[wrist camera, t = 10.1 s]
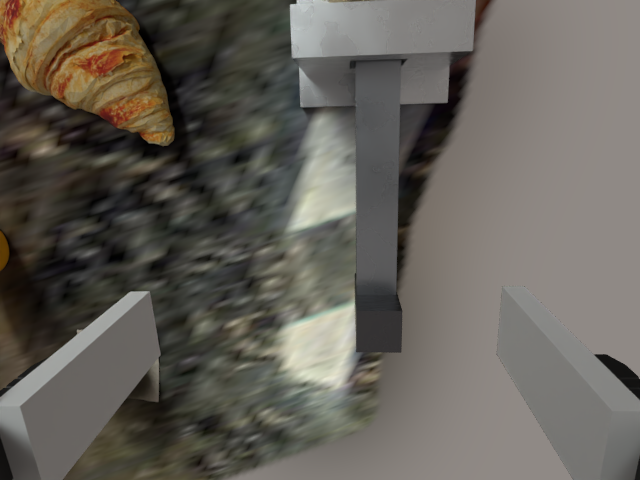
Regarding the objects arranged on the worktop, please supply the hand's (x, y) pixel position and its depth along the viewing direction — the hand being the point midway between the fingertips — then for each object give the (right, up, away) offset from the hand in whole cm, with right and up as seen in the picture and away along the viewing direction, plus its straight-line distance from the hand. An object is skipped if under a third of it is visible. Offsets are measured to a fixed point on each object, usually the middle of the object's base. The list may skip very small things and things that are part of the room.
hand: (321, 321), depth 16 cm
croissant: (-20, +19, +21) cm, 35 cm away
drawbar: (+4, +8, +19) cm, 21 cm away
